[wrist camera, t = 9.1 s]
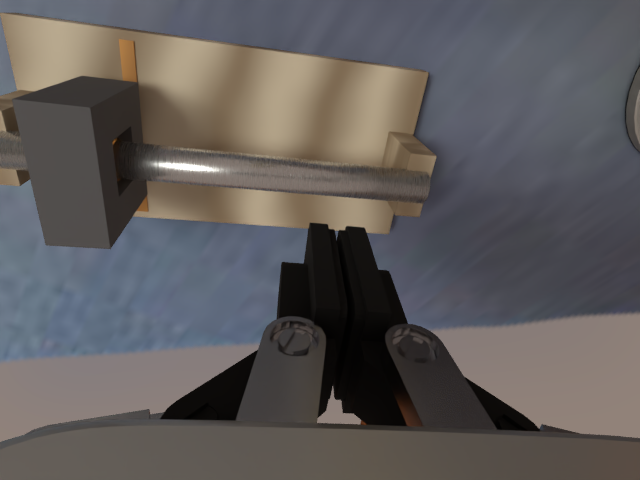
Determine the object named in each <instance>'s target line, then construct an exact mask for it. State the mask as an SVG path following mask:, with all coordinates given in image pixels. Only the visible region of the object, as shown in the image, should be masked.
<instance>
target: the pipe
mask: <svg viewBox="0 0 640 480" xmlns="http://www.w3.org/2000/svg"><path fill="white" fill-rule="evenodd" d="M112 143H113V151H114V159H115V168H116V176H117V181H119V180H120V179H130V180H142V181H154V182H166V183H178V184H190V185H202V186H214V187H226V188H238V189H250V190H261V191H273V192H285V193H297V194H309V195H321V196H333V197H345V198H357V199H369V200H381V201H393V202H405V203H417V204H423V203H424V202H425V201H426V199H427V197H428V194H429V190H430V176H429V174H428V172H423V171H413V170H406V169H400V168H390V167H380V166H370V165H359V164H349V163H339V162H329V161H318V160H308V159H298V158H288V157H277V156H267V155H257V154H247V153H236V152H226V151H216V150H206V149H195V148H185V147H175V146H165V145H155V144H144V143H134V142H124V141H121V140H120V139H119V138H115V139H114V140H113V141H112ZM0 169H10V170H22V171H28V167H27V163H26V158H25V154H24V150H23V145H22V141H21V137H20V133H19V131H11V130H8V131H1V130H0Z"/></svg>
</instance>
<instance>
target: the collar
mask: <svg viewBox="0 0 640 480" xmlns="http://www.w3.org/2000/svg"><path fill="white" fill-rule="evenodd" d="M12 103H13V107H14V111H15V115H16V120H17V124H18V128H19V133H20V137H21V141H22V145H23V150H24V154H25V158H26V163H27V167H28V171H29V175H30V180H31V184H32V188H33V192H34V197H35V201H36V205H37V210H38V214H39V218H40V222H41V227H42V231H43V235H44V239H45V244H46V245H50V246H68V247H85V248H103V249H111V247H112V246H113V244H114V243H115V241H116V240H117V238H118V237H119V236H120V234H121V233H122V231H123V230H124V228H125V227H126V225H127V224H128V222H129V221H130V219H131V218H132V216H133V215H134V214H135V212H136V211H137V209H138V208H139V206H140V205H141V203H142V202H143V200H144V199H145V197H146V196H147V194H148V193H147V181H142V180H130V179H120V180H119V181H117V176H116V168H115V159H114V151H113V143H112V141H113V140H114V139H115V138H119V139H120V140H121V141H124V142H134V143H143V133H142V121H141V109H140V97H139V85H138V82H131V81H123V80H114V79H106V78H98V77H89V76H79V77H76V78H73V79H70V80H67V81H64V82H61V83H58V84H55V85H52V86H49V87H46V88H43V89H40V90H37V91H34V92H31V93H28V94H25V95H22V96H19V97H16V98H13V99H12Z"/></svg>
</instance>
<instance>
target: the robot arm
mask: <svg viewBox="0 0 640 480" xmlns="http://www.w3.org/2000/svg"><path fill="white" fill-rule="evenodd" d="M626 125H627V129H628V134H629V137H630V139H631V141H632V143H633V145H634V146H635V147H636V148H637V149H638V151H639V152H640V67H639V69H638V71H637V73H636V75H635V78H634V80H633V83H632V86H631V89H630V91H629V96H628V102H627V107H626ZM332 386H333V388H334V397H335V399H336V400H341V401H342V409H343V413H354V414H355V415H356V416H357V417H358V418H360V419H361V424H360V425H357V424H327V423H317V418H318V417H319V416H321V415H322V414H323V413H324V412H325V411H326V408H327V404H328V399H330V395H331V391H332ZM0 480H640V438H632V437H621V436H609V435H591V434H580V433H576V432H572V431H568V430H564V429H559V428H555V427H551V426H547V425H543V424H542V425H541V427H540V429H539V428H537V426H536V425H535V424H534V423H533V422H531V421H530V420H529V419H528V418H527V417H525V416H524V415H523V414H521V413H519V412H518V411H516V410H515V409H513V408H512V407H510V406H509V405H507V404H505V403H504V402H502V401H501V400H499V399H498V398H496V397H495V396H493V395H492V394H490V393H489V392H487V391H485V390H484V389H482V388H481V387H479V386H478V385H476V384H475V383H473V382H471V381H470V380H468V379H467V378H465V377H464V376H463V374H462V373H461V371H460V370H459V368H458V366H457V365H456V363H455V362H454V360H453V359H452V357H451V355H450V354H449V352H448V351H447V349H446V347H445V346H444V344H443V343H442V342H441V340H440V339H439V338H438V337H437V336H436V335H435V334H433V333H432V332H431V331H429V330H427V329H425V328H423V327H421V326H417V325H413V324H408V322H407V320H406V317H405V314H404V311H403V308H402V306H401V303H400V300H399V297H398V294H397V292H396V289H395V286H394V283H393V280H392V278H391V275H390V273H389V271H387V270H378V268H377V264H376V261H375V258H374V255H373V252H372V249H371V245H370V242H369V239H368V236H367V233H366V230H365V228H364V227H353V226H346V228H345V230H339V232H338V237H337V241H336V235H335V230H334V229H329V228H328V224H321V223H310V224H309V229H308V237H307V244H306V252H305V259H304V264H300V263H288V262H282V265H281V274H280V284H279V295H278V308H277V320H274V321H273V322H271V323H270V324H269V325H268V326H267V327H266V329H265V331H264V333H263V336H262V339H261V342H260V345H259V349H258V350H257V351H255V352H254V353H252V354H251V355H249V356H247V357H246V358H244V359H242V360H241V361H239V362H238V363H236V364H235V365H233V366H231V367H230V368H228V369H227V370H225V371H224V372H222V373H220V374H219V375H217V376H215V377H214V378H212V379H211V380H209V381H207V382H206V383H204V384H203V385H201V386H200V387H198V388H197V389H195V390H194V391H192V392H190V393H188V394H187V395H185V396H184V397H182V398H180V399H179V400H177V401H176V402H175V403H173V404H172V405H171V406H170V407H169V408H167V410H166V411H165V412H163V413H156V414H150V410H149V409H147V410H141V411H135V412H129V413H123V414H116V415H109V416H103V417H97V418H91V419H84V420H78V421H71V422H65V423H59V424H53V425H47V426H44V427H41V428H37V429H34V430H32V431H30V432H29V433H27V434H25V435H22V436H19V437H15V438H12V439H8V440H5V441H2V442H0Z"/></svg>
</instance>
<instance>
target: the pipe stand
mask: <svg viewBox="0 0 640 480" xmlns="http://www.w3.org/2000/svg"><path fill="white" fill-rule="evenodd" d="M0 16H1V20H2V25H3V29H4V34H5V38H6V42H7V47H8V51H9V56H10V60H11V65H12V69H13V74H14V78H15V82H16V87H17V91H15V92H12V93H9V94H5V95H2V96H0V130H1V131H8V130H11V131H19V128H18V124H17V120H16V115H15V111H14V107H13V103H12V99H13V98H16V97H19V96H22V95H25V94H28V93H31V92H34V91H37V90H40V89H43V88H46V87H49V86H52V85H55V84H58V83H61V82H64V81H67V80H70V79H73V78H76V77H79V76H89V77H98V78H106V79H114V80H123V81H131V82H138V85H139V97H140V109H141V121H142V133H143V143H144V144H155V145H165V146H175V147H185V148H195V149H206V150H216V151H226V152H236V153H247V154H257V155H267V156H277V157H288V158H298V159H308V160H318V161H329V162H339V163H349V164H359V165H370V166H380V167H390V168H400V169H406V170H413V171H423V172H428V174H429V176H430V178H431V174H432V171H433V167H434V164H435V160H436V157H437V156H436V155H435V154H434V153H432V152H431V151H430V150H429V149H428V148H427V147H426V146H424V145H423V144H422V143H421V142H420V141H419V140H417V139H416V138H415V137H414V136H413V134H414V130H415V126H416V122H417V118H418V114H419V110H420V106H421V102H422V98H423V94H424V90H425V86H426V82H427V78H428V74H429V73H428V72H426V71H423V70H419V69H412V68H405V67H398V66H391V65H384V64H377V63H369V62H362V61H355V60H348V59H341V58H334V57H327V56H320V55H312V54H305V53H298V52H291V51H284V50H277V49H270V48H262V47H255V46H248V45H241V44H234V43H227V42H220V41H213V40H205V39H198V38H191V37H184V36H177V35H170V34H163V33H155V32H148V31H141V30H134V29H127V28H120V27H113V26H106V25H98V24H91V23H84V22H77V21H70V20H63V19H56V18H48V17H41V16H34V15H27V14H20V13H0ZM29 179H30V175H29V171H22V170H10V169H0V184H1V185H14V186H21V185H22V184H24V183H25V182H26V181H28V180H29ZM147 193H148V194H147V196H146V197H145V199H144V200H143V202H142V203H141V205H140V206H139V208H138V209H137V211H136V212H135V214H134V215H133V216H136V217H150V218H165V219H179V220H193V221H208V222H222V223H236V224H251V225H265V226H279V227H294V228H308V229H309V224H310V223H321V224H328V228H329V229H334V230H337V231H339V230H345V228H346V226H353V227H364V228H365V230H366V233H380V234H389V231H390V227H391V223H392V219H393V215H394V214H395V215H399V216H412V217H419V216H420V213H421V209H422V206H423V204H417V203H405V202H393V201H381V200H369V199H357V198H345V197H333V196H321V195H309V194H297V193H285V192H273V191H261V190H250V189H238V188H226V187H214V186H202V185H190V184H178V183H166V182H154V181H147Z"/></svg>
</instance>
